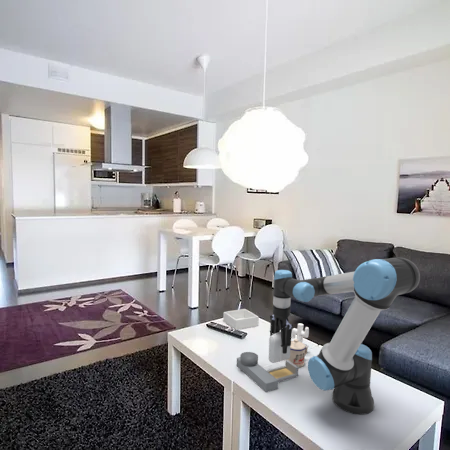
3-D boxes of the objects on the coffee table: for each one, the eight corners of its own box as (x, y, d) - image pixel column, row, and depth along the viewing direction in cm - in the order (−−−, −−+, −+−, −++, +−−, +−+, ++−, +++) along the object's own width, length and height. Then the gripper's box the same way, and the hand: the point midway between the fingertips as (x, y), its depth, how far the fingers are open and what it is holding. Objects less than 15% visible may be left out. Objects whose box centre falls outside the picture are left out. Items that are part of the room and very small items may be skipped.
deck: (304, 380, 144) (305, 366, 144) (263, 392, 134) (264, 377, 134) (271, 356, 165) (272, 343, 165) (234, 365, 155) (235, 352, 155)
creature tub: (258, 326, 204) (258, 316, 204) (235, 330, 197) (236, 320, 196) (244, 317, 218) (245, 308, 218) (223, 321, 211) (223, 312, 211)
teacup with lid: (294, 369, 153) (295, 345, 152) (281, 361, 161) (282, 337, 160) (313, 363, 159) (314, 340, 158) (299, 355, 167) (300, 333, 166)
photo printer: (272, 364, 143) (274, 336, 142) (267, 359, 146) (268, 332, 145) (291, 359, 148) (292, 332, 147) (285, 355, 152) (286, 328, 150)
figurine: (295, 347, 177) (296, 319, 176) (311, 353, 170) (312, 324, 169) (287, 351, 172) (288, 322, 171) (302, 357, 165) (304, 328, 164)
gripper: (301, 310, 139) (299, 364, 141) (276, 298, 154) (274, 347, 156) (287, 313, 136) (284, 368, 138) (263, 300, 151) (261, 350, 153)
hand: (279, 356), depth 147 cm, fingers closed on photo printer, 4 cm apart
